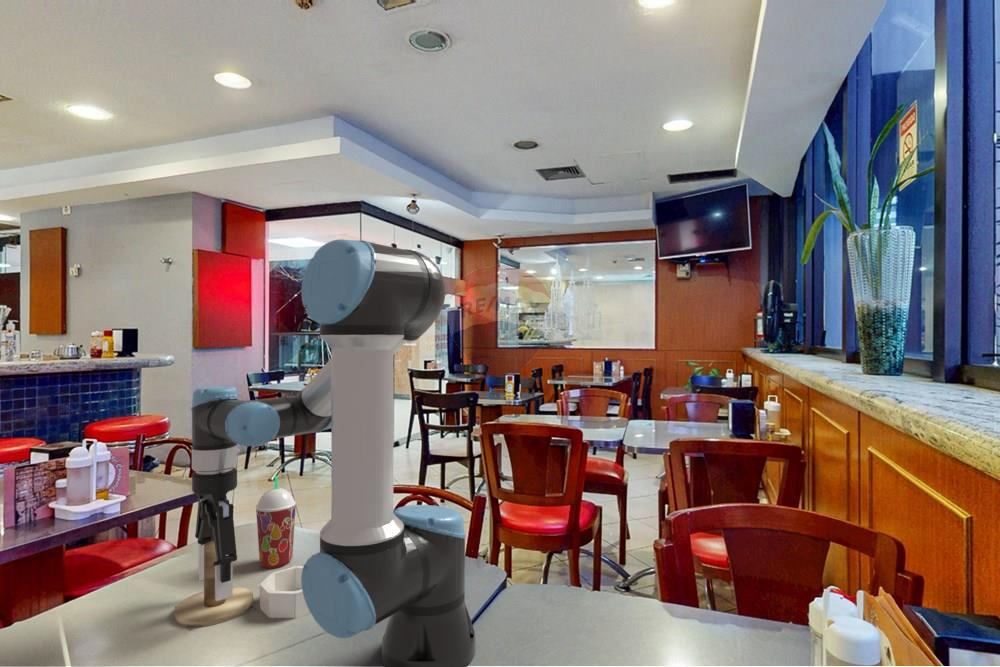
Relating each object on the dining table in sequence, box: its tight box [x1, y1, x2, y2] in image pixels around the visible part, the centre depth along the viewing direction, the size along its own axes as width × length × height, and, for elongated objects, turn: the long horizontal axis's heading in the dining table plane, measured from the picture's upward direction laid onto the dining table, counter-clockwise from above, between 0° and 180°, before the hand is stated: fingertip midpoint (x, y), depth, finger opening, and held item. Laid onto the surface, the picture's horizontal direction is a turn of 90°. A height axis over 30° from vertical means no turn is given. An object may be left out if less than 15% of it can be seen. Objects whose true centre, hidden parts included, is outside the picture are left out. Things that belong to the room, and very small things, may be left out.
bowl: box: [259, 565, 311, 619], centre depth 104 cm, size 12×12×5 cm
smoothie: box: [255, 475, 297, 569], centre depth 122 cm, size 8×8×20 cm
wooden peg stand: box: [174, 541, 254, 627], centre depth 102 cm, size 13×13×12 cm
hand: (215, 587), depth 102 cm, fingers open, 10 cm apart
